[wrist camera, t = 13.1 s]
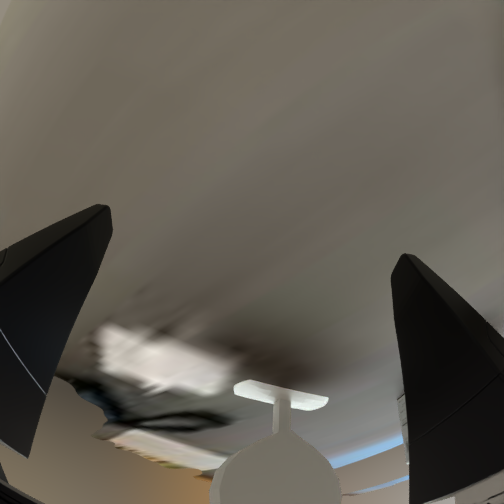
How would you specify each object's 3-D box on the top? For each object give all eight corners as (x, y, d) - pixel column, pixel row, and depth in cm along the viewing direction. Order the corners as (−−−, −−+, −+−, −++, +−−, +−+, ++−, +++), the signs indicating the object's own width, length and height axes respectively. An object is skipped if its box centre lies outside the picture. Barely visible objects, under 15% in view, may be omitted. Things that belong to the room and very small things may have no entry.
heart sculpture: (221, 390, 39) (203, 519, 25) (234, 375, 36) (217, 519, 22) (320, 412, 42) (321, 525, 28) (340, 399, 39) (346, 522, 25)
